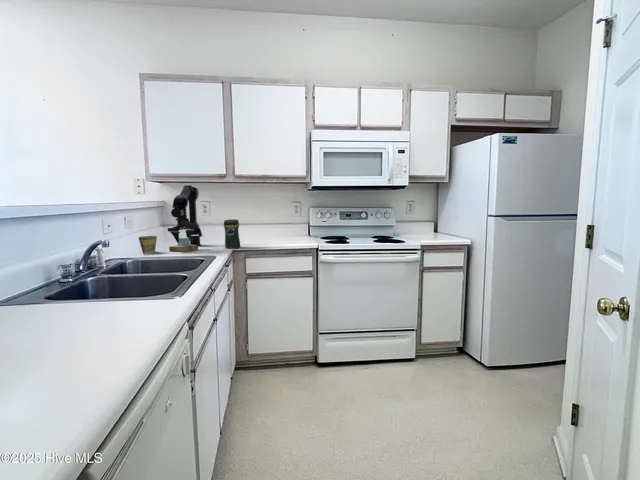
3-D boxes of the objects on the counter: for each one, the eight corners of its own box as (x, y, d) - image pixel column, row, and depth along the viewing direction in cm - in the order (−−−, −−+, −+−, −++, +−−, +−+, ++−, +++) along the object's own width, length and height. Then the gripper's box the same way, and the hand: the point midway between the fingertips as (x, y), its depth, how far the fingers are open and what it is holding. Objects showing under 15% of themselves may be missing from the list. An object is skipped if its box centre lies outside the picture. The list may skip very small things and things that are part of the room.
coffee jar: (241, 246, 233) (240, 218, 231) (238, 248, 225) (237, 219, 223) (227, 247, 233) (225, 219, 231) (223, 248, 225) (222, 219, 223)
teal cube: (184, 245, 225) (183, 237, 224) (189, 245, 222) (189, 237, 222) (177, 246, 220) (177, 238, 220) (183, 246, 218) (183, 238, 217)
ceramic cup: (155, 253, 211) (154, 236, 210) (137, 254, 209) (136, 237, 208) (161, 250, 223) (159, 235, 222) (144, 251, 222) (142, 235, 221)
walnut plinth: (184, 248, 230) (184, 244, 229) (198, 249, 224) (198, 244, 224) (169, 251, 219) (169, 246, 218) (183, 252, 214) (183, 247, 213)
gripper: (179, 217, 208) (181, 244, 209) (202, 216, 224) (204, 240, 226) (166, 217, 212) (167, 243, 214) (189, 216, 229) (191, 240, 231)
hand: (183, 241), depth 221 cm, fingers open, 8 cm apart
